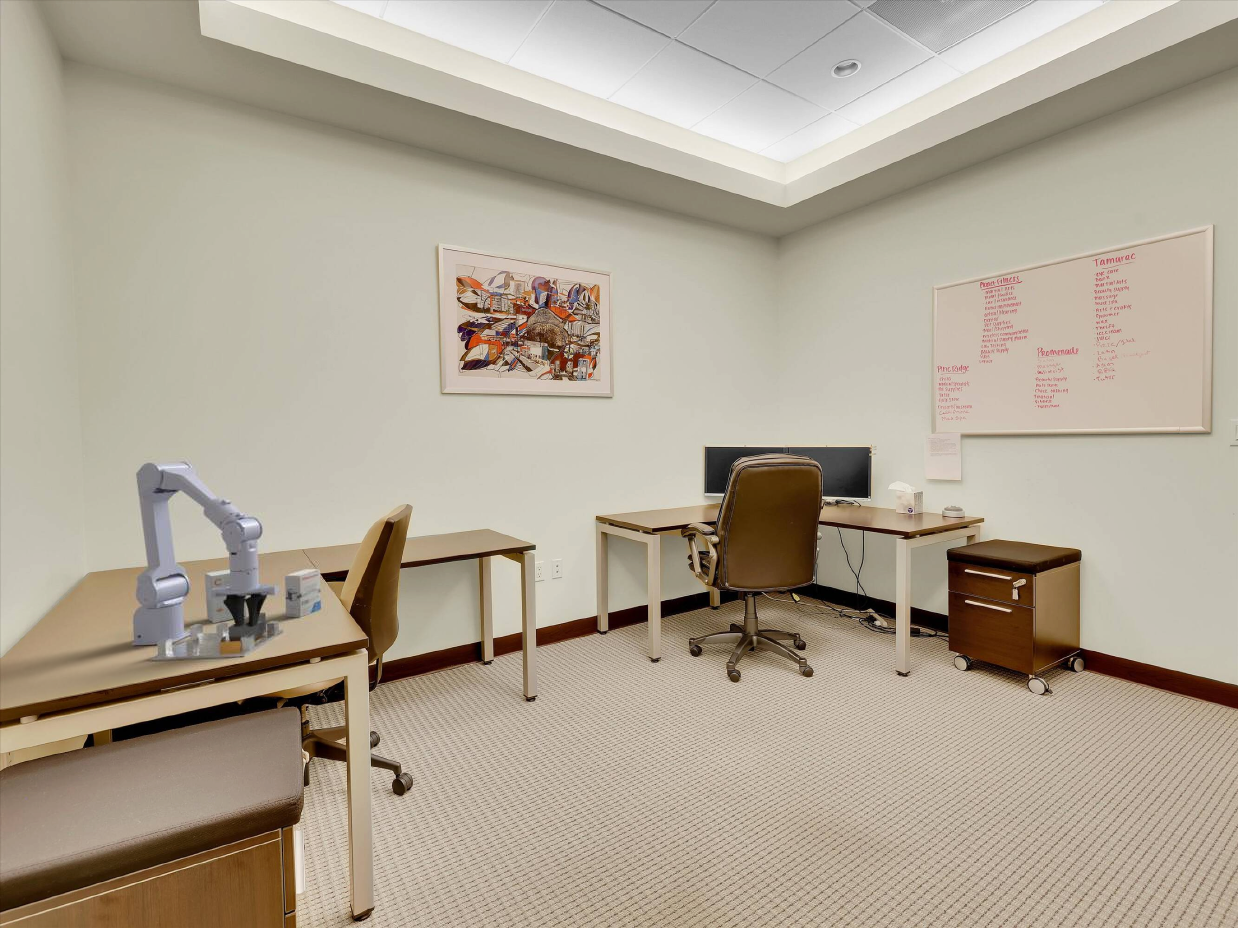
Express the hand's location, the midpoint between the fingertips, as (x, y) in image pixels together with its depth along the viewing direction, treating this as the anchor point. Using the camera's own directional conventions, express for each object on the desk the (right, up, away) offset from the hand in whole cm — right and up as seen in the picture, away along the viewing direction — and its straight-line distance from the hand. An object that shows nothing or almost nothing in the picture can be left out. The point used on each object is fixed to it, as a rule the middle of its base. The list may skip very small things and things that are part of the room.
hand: (246, 625), depth 140 cm
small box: (-20, -5, +23) cm, 31 cm away
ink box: (-1, -4, +27) cm, 27 cm away
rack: (-6, -5, 0) cm, 8 cm away
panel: (0, -4, +1) cm, 4 cm away
